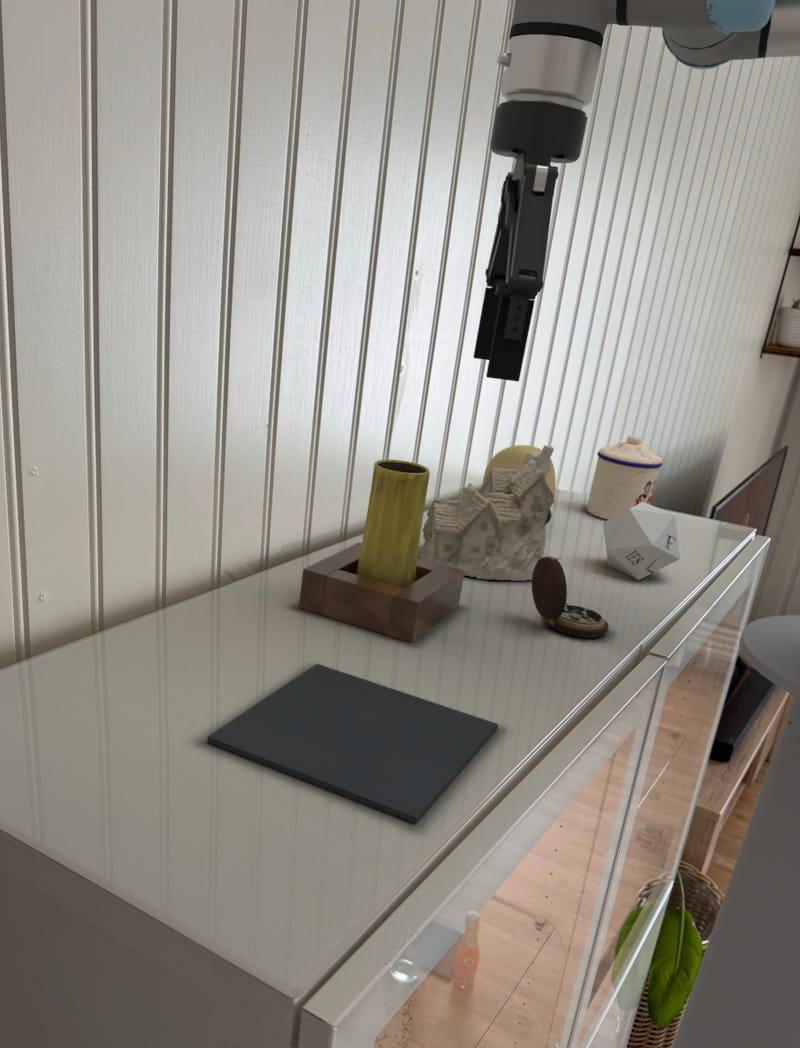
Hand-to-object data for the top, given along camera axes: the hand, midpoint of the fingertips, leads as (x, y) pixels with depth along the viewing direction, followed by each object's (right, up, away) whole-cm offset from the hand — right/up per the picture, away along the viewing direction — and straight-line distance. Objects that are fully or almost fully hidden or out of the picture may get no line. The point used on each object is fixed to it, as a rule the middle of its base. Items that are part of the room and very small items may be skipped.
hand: (494, 369), depth 88 cm
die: (+22, -17, +29) cm, 40 cm away
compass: (+9, -23, +10) cm, 27 cm away
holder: (-10, -21, +8) cm, 25 cm away
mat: (-13, -32, -17) cm, 38 cm away
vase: (-10, -22, +8) cm, 25 cm away
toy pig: (+10, -9, +43) cm, 46 cm away
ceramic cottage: (+3, -15, +27) cm, 31 cm away
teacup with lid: (+28, -6, +55) cm, 62 cm away
